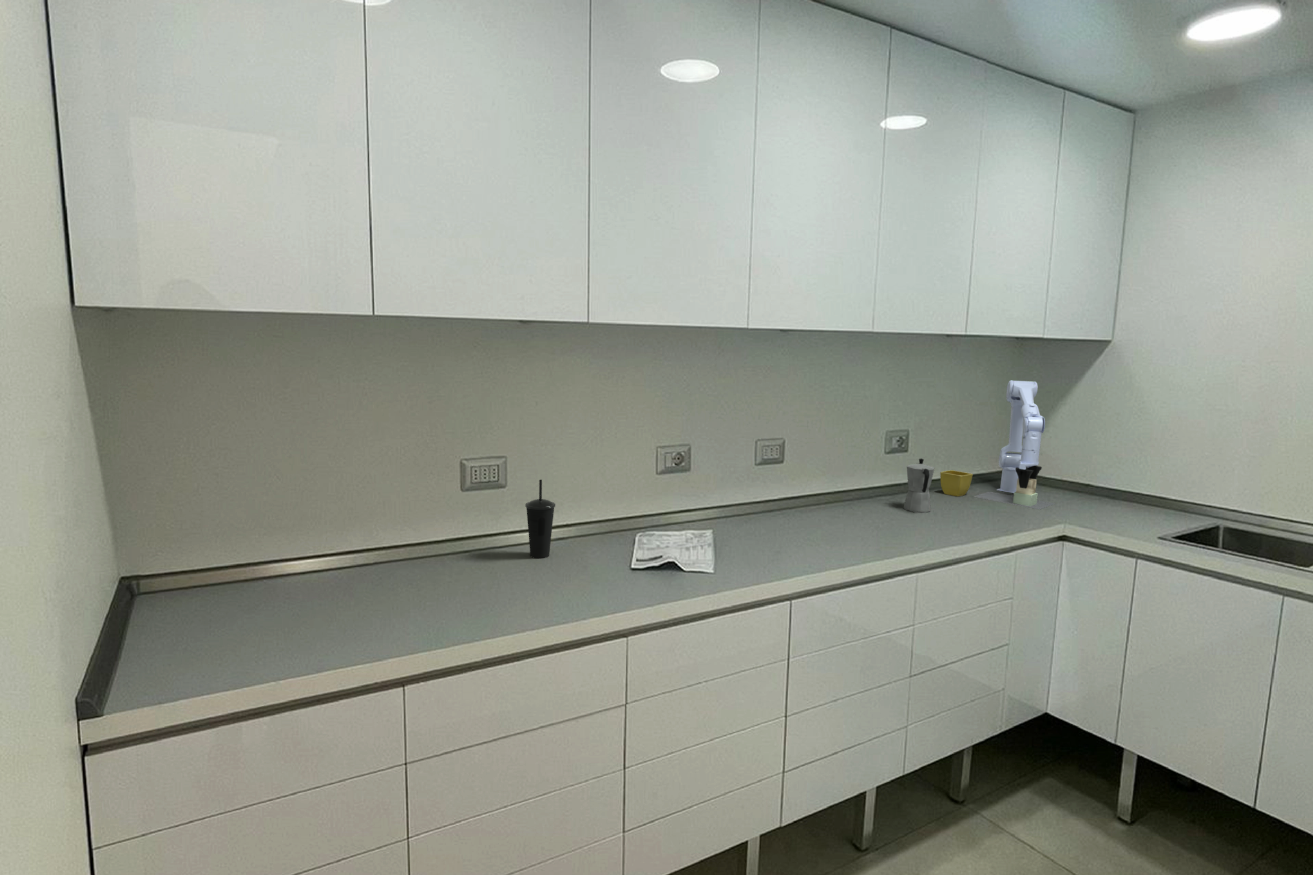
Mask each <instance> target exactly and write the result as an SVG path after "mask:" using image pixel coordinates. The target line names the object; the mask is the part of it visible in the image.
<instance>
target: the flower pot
mask: <svg viewBox="0 0 1313 875" xmlns="http://www.w3.org/2000/svg"><path fill="white" fill-rule="evenodd" d="M939 474H940V475H939V476H940V477H939V478H940V486H941V490H942V493H943V494H944V495H947V496H952V497H961V496H962V497H963V496H965V495H966V494H967V493H968V491H969V489H970V487H971V483H972V479H973V475H974V474H973V473H970V472H965V471H958V470H953V469H951V470H950V469H949V470H944V471H940V473H939Z"/></svg>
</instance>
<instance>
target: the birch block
mask: <svg viewBox="0 0 1313 875" xmlns="http://www.w3.org/2000/svg"><path fill="white" fill-rule="evenodd" d="M1037 480H1038V479H1037V478H1036V479H1029V482H1028V486H1027V488H1026V489H1025V488H1020V486H1019V479H1017V487H1016V493H1022V494H1028V495H1032V494H1034V493H1036V488H1037Z"/></svg>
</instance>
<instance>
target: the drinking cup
mask: <svg viewBox="0 0 1313 875" xmlns="http://www.w3.org/2000/svg"><path fill="white" fill-rule="evenodd" d="M538 482H539V483H538V484H539V485H538V486H539V487H538V488H539V490H538V495H539V496H538V498H536V499H532V500H530V501H528V502H526V503H524V504H525V505H524V506H525V507H526V520H527V529H528V541H529V542H528V544H529V553H530V554H529V555H530V557H531V556H532V557H531V558H533V557H534V558H533V559H545V557H546V558H548V557H549V556H550V550H551V541H552V533H553V532H552V531H553V523H554V514H555V508H556V503H555V502H553V501H551V500H549V499H545V498H543V479H539V480H538ZM547 556H548V557H547Z"/></svg>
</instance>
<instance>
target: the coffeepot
mask: <svg viewBox="0 0 1313 875" xmlns="http://www.w3.org/2000/svg"><path fill="white" fill-rule="evenodd" d="M918 460H919V463H914V464H913V463H912V464H907V466H906V474H907V476H906V477H907V485H908V490H907V492H906V497H905V500H904V504H903V509H904V510H906V511H909V512H912V511H913V513H929V512H931V510H932V508H931V496H930V487H931V485H932V479H933V476H934V473H935V472H934V471H935V469H936V467H934V466H931V465H928V464H924V460H925V459H924V458H919V459H918Z"/></svg>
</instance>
